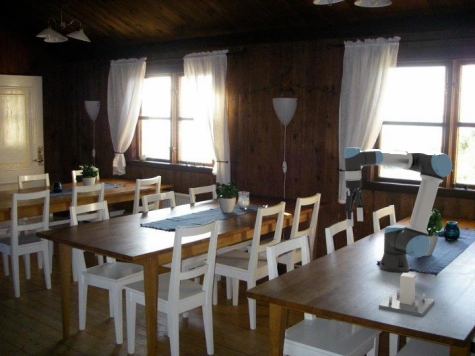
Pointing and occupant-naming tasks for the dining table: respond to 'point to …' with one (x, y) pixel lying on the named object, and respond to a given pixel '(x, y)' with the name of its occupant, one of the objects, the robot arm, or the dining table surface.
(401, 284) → the block
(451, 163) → the robot arm
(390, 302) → the plate
